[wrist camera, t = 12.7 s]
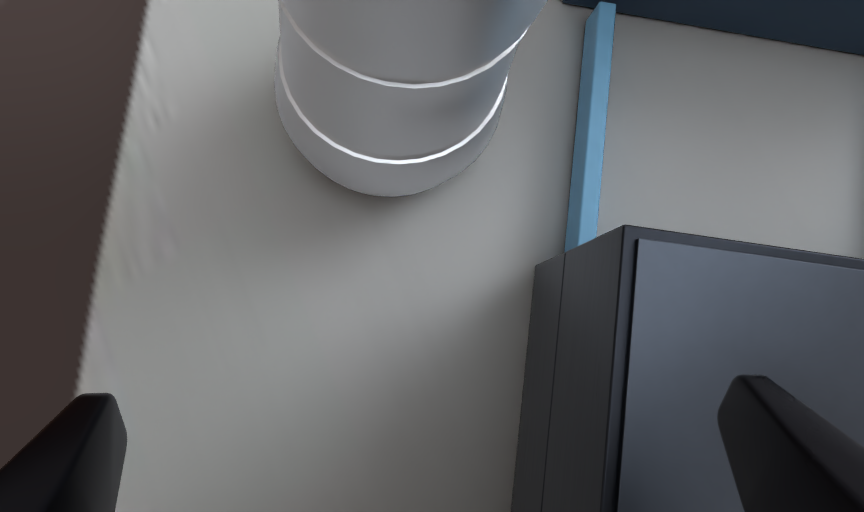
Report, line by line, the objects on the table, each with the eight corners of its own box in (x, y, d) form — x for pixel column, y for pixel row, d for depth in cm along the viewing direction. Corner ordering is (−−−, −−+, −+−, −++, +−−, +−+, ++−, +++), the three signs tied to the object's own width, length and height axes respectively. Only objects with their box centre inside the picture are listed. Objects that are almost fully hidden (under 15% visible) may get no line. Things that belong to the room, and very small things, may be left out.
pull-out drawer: (925, 435, 23) (1126, 467, 17) (523, 387, 21) (586, 403, 15) (931, -83, 26) (1104, -213, 20) (577, -153, 24) (647, -314, 18)
